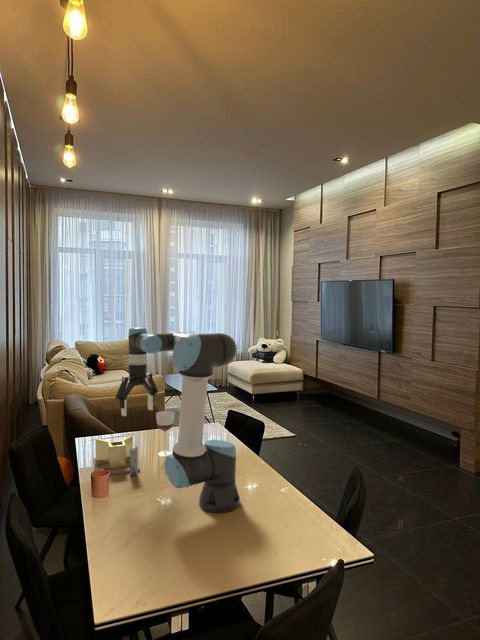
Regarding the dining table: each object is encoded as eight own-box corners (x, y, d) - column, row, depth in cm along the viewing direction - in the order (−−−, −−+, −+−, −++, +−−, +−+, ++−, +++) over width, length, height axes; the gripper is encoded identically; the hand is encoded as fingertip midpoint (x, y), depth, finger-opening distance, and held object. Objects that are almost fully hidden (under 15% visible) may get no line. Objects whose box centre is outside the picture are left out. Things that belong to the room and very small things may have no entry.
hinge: (136, 466, 197) (136, 443, 197) (97, 470, 191) (97, 448, 190) (132, 455, 209) (132, 435, 209) (95, 460, 203) (95, 438, 203)
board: (139, 471, 194) (139, 468, 194) (96, 477, 187) (96, 474, 187) (132, 455, 213) (133, 453, 213) (93, 460, 206) (93, 458, 206)
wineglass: (172, 456, 212) (172, 415, 211) (154, 456, 212) (154, 415, 211) (175, 451, 220) (175, 411, 219) (157, 450, 220) (157, 410, 219)
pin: (138, 476, 189) (138, 448, 189) (130, 477, 188) (130, 449, 187) (137, 473, 192) (137, 446, 192) (129, 474, 191) (129, 446, 190)
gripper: (155, 359, 201) (155, 406, 203) (106, 365, 183) (107, 416, 184) (166, 361, 197) (165, 408, 198) (117, 367, 178) (117, 420, 179)
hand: (137, 412), depth 191 cm, fingers open, 13 cm apart
